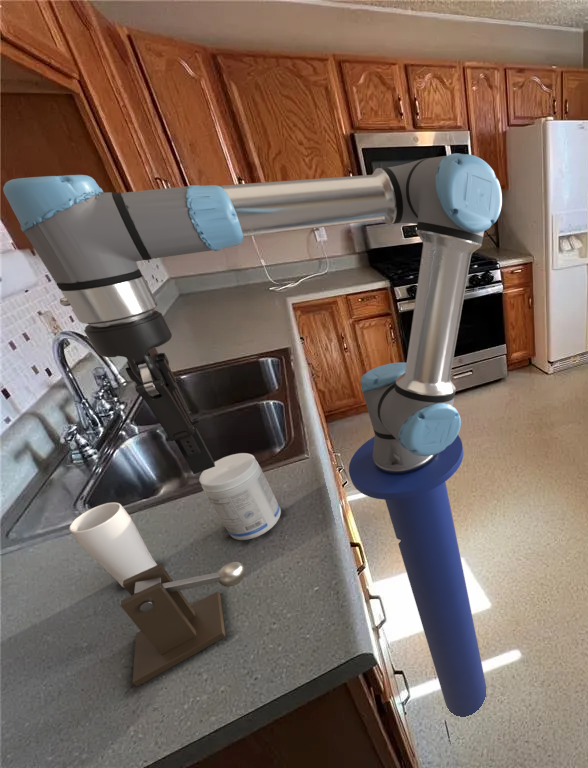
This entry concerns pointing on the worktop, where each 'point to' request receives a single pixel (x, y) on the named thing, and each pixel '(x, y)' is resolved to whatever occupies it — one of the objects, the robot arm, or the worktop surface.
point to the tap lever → (200, 579)
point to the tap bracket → (168, 624)
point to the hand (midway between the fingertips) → (204, 467)
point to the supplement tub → (241, 496)
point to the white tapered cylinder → (112, 541)
